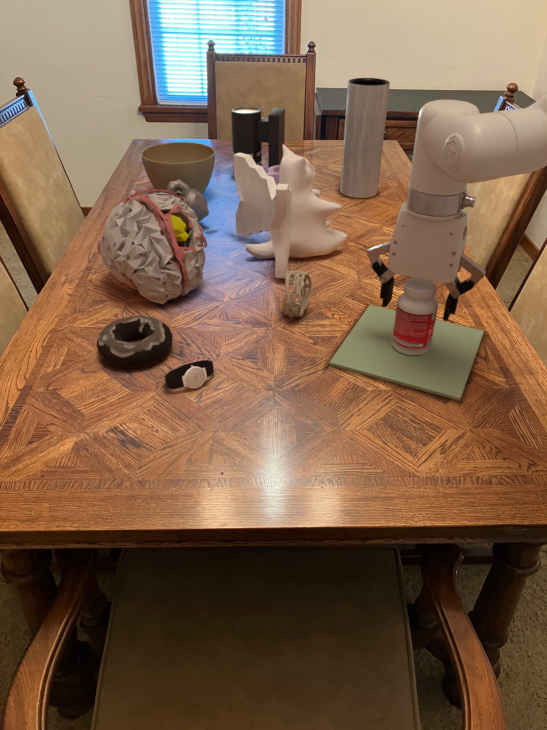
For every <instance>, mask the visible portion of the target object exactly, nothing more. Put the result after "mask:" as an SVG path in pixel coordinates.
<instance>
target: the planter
mask: <svg viewBox="0 0 547 730" xmlns="http://www.w3.org/2000/svg"><path fill="white" fill-rule="evenodd" d="M390 85H391V81H389V80H387V79H384V78H378V77H377V78H376V77H357V78H351V79H349V80H348V81H347V89H346V90H347V91H346V102H345V104H346V105H345V118H344V131H343V143H342V144H343V146H342V159H341V172H340V186H339V187H340V190H339V191H340V193H341V194H342V195H343V196H345V197H349V198H354V199H368V198H373V197H374V196H377V195H378V191H379V182H380V175H381V167H382V159H383V158H382V157H383V148H384V140H385V139H384V137H385V130H386V123H387V122H386V121H387V113H388V103H389V93H390Z"/></svg>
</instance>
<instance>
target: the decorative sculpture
mask: <svg viewBox="0 0 547 730" xmlns="http://www.w3.org/2000/svg"><path fill="white" fill-rule="evenodd" d="M157 191H162V192H166V193H158V192H157ZM145 192H152V193H145ZM167 193H172V194H174V195H176V196H178V197H179V198H178V197H176V196H173V195H171V194H167ZM140 194H142V195H140ZM180 198H181V199H183V198H182V197H180V196H179V195H177V194H176V193H174V192H173V191H167V190H158V189H155V188H146V189H143V190H140V191H137V192H135V193H133V194H130V195H129V196H128V197H125V200H123V201H122V202H120V203H118V205H116V206H115V207H114V208H113V209H112V210H111V211H110V213H109V215H108V218H107V220H106V222H105V224H104V229H103V232H102V234H101V236H100V239H99V241H98V242H97V253H98V254H99V255H100V257H101V260H102V262H103V264H104V266H105V267H106V269H107V270H108V271H109V272H110V273H111V274H112V275H113V276H114V277H115V278H116V279H117V280H119V281H120V282H122V283H123V284H125V285H126V286H128V287H130V288H131V290H135V291H138V293H139V295H140V296H142V297H144V298H145V299H146V300H148V301H150V302H152V303H156V304H161V305H164V304H165V303H167V301H171V300H172V299H177V298H178V297H179V296H181V297H184V296H186V295H187V294H189V292H191V291H192V290H194V289H197V288H198V287H200V286H201V284H202V281H203V279H204V275H203V274H204V272H203V270H204V266H205V264H206V252H205V251H206V250H205V248H207V247H208V243H207V238H206V237H205V235H204V229H203V227H202V226H201V224H200V223H199V222H198V217H197V216H196V213H195V212H194V211H193V210H192V209H191V208H190V207H189V206H188V205H187V204H186V203H184V202H183V201H182V200H181V199H180ZM183 200H185V199H183ZM185 201H186V200H185ZM187 202H188V201H187ZM189 203H190V202H189ZM131 290H128V293H130V294H132V291H131Z"/></svg>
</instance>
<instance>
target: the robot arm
mask: <svg viewBox="0 0 547 730" xmlns="http://www.w3.org/2000/svg"><path fill="white" fill-rule="evenodd" d="M416 123H417V124H416V130H415V138H414V143H413V145H414V146H413V150H412V151H413V153H412V158H411V167H410V173H409V181H408V187H407V194H406V201H404V202H403V203H402V205H401V206H400V209H399V211H398V215H397V218H396V222H395V226H394V229H393V234H392V237H391V240H390V241H387V242H384V243H381V244H378V245H375V246H372V247H370V248H368V250H367V251H366V255H367V258H368V260H369V262H370V264H371V269H372V270H373V272H374V273H375V274H376V275H377V277H378V281H379V283H380V291H379V292H380V293H379V299H381V300H382V301H381V307H382V308H386V307H388V306H389V304H390V302H391V301H392V299H393V292H394V286H395V279H396V278H395V276H396V275H400V276H404V277H409V278H418V279H423V280H428V281H432V282H434V283H439V284H444V285H445V287H446V289H447V291H448V292H449V293H448V294H447V296H446V300H445V306H444V310H443V315H442V320H443V322H448V321H449V318H450V316H451V315H454V316H455V315H456V312H457V309H458V308H457V307H458V303H459V299H460V296H462V295H464V294H466V293H467V292H469V291H471V290H473V288H474V287H475V286H477V284H478V283H479V282H480V281H482V279H483V278H484V277H485V275H486V271H487V270H486V269H484V268H483V266H481V265H479V263H477V262H475V261H474V260H473V259H472V258H471V257H469V256H468V255H467V254H465V248H466V241H467V233H468V211H467V210H466V209H465V208H474V207H475V204H476V196H475V197H474V196H471V195H469V193H468V192H467V190H468V188H467V187H468V184H476V183H477V184H478V183H484V182H487V181H493V180H497V179H502V178H507V177H513V176H520V175H525V174H530V173H533V172H536V171H538V170H541V169H543V168H545V167H547V92H546V93H545V94H544V95H543V96H541V97H540V98H538V99H537V100H536V101H535V102H533V103H532V104H530V105H528V106H527V107H523V108H522V107H521V108H514V109H513V108H512V109H505V110H504V109H503V110H495V111H491V112H484V113H483V112H482V113H480V110H479V108H478V107H477V106H476V105H475V104H473V103H471V102H469V101H464V100H458V99H436V100H431V101H428V102H426V103H425V104H424V105H422V107H421V108H420V110H419V113H418V118H417V122H416ZM384 254H388V257H387V266H386V264H385V263H384V262H383V260H382V259H381V256H382V255H384ZM462 268H463V270H465V271H466V272H468V273H469V274H470V276H469V277H468V278H467V279H464V280H463V281H461V279H460V277H459V276H458V273H460V271H461V269H462Z"/></svg>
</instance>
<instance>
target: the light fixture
mask: <svg viewBox="0 0 547 730" xmlns="http://www.w3.org/2000/svg"><path fill="white" fill-rule="evenodd" d="M230 119H231V141H232V142H231V144H232V155H233V154H237V153H244V154H247V155H251V156H252V158H253V160H254V161H255V163H256V165H259V166H262V167H263V162H262V161H263V153H262V148H263V147H262V145H263V143H267V144H268V149H267V151H268V152H267V153H268V154H267V155H268V157H267V159H268V161H267V163H268V165H267V169H268V168H269V167H272V166H276V165H280V164H281V161H282V158H283V148H282V145H283V144H284V145H285V133H286V132H285V130H286V129H285V127H286V108H285V107H274V108H272V110H271V111H270V113H269V114H268V115H267V117H262V109H260V108H258V107H253V106H240V107H235V108H232V109H231V111H230ZM232 162H233V163H232V169H233V174H234V159H233V158H232ZM233 178H234V179H235V177H234V176H233Z"/></svg>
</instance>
